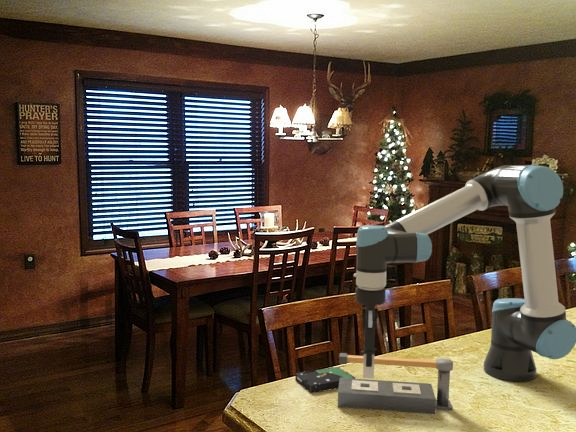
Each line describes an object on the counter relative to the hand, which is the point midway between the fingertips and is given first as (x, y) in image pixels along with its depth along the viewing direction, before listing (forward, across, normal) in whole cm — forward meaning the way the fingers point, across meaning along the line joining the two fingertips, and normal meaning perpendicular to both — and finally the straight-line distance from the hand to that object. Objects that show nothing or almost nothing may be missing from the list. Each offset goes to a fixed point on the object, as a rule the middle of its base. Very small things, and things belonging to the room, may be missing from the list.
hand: (368, 376), depth 141 cm
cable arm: (-1, -6, +7) cm, 10 cm away
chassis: (+9, -6, +5) cm, 12 cm away
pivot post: (+9, -6, +20) cm, 23 cm away
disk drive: (+10, -17, -12) cm, 23 cm away
